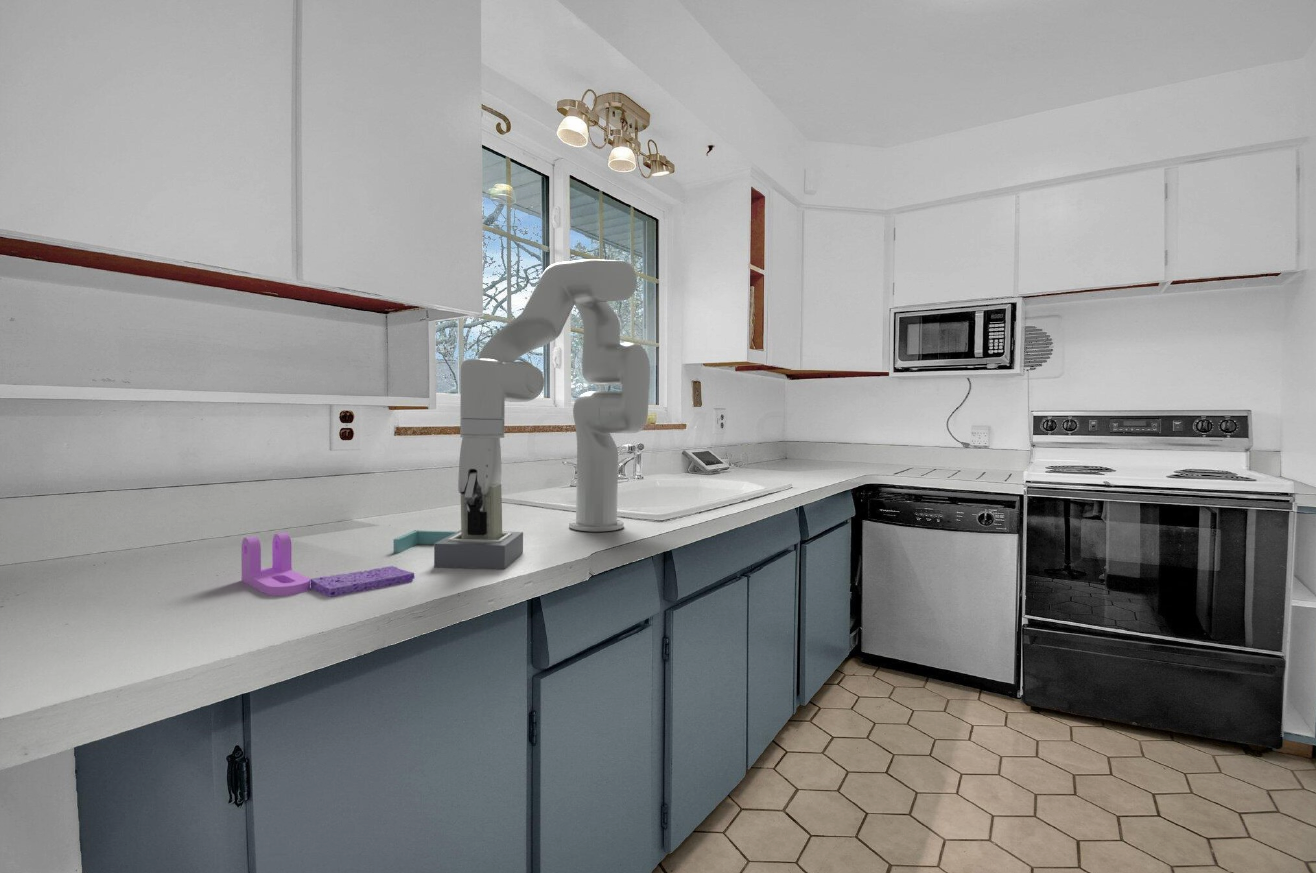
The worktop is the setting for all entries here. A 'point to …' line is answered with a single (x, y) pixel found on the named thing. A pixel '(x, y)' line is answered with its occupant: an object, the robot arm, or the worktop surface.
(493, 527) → the skincare box
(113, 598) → the worktop surface
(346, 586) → the sponges
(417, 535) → the teal l-shaped piece
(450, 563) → the socket block
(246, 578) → the bracket
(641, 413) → the robot arm
